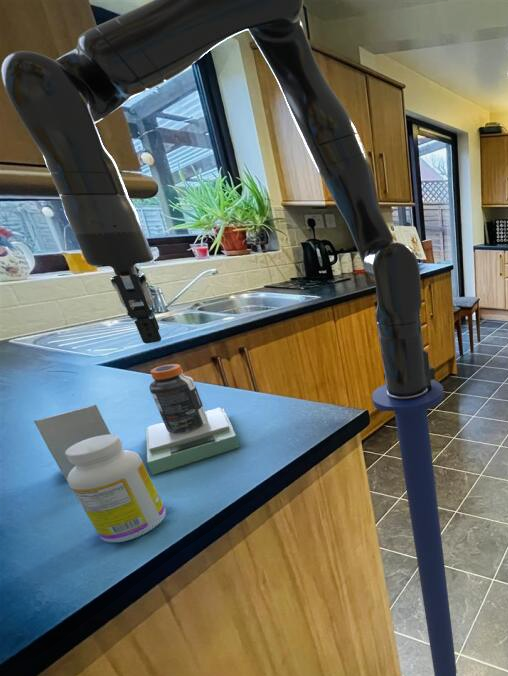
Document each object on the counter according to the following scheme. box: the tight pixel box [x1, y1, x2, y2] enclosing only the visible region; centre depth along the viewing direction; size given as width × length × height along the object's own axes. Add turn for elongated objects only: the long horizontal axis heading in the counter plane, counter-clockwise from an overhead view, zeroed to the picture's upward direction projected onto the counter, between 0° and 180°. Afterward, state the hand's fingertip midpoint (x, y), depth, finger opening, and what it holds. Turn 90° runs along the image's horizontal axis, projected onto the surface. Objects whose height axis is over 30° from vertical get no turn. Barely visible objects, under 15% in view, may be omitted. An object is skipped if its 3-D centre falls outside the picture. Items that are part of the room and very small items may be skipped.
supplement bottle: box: [65, 433, 167, 543], centre depth 50 cm, size 7×7×13 cm
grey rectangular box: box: [33, 404, 112, 482], centre depth 64 cm, size 4×7×10 cm, turn 141°
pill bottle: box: [149, 363, 208, 433], centre depth 69 cm, size 6×6×11 cm
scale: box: [145, 406, 241, 476], centre depth 71 cm, size 12×14×3 cm
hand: (152, 336), depth 65 cm, fingers open, 8 cm apart
